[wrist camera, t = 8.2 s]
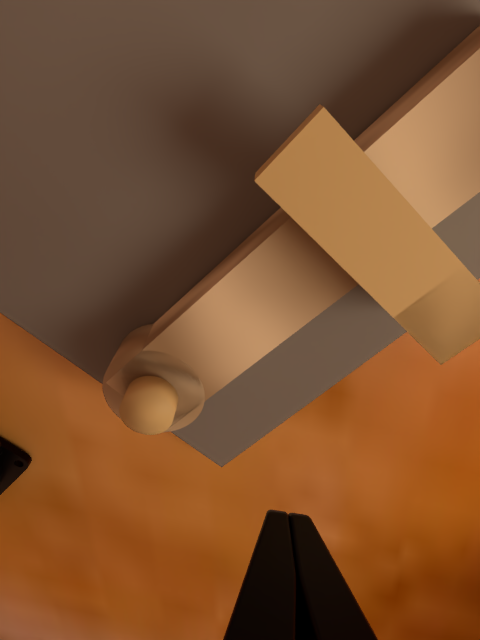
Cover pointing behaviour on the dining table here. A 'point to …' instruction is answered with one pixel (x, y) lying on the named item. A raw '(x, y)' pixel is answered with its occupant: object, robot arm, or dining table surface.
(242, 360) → the birch latch bar
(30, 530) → the dining table surface
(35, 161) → the keeper baseplate
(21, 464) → the robot arm
